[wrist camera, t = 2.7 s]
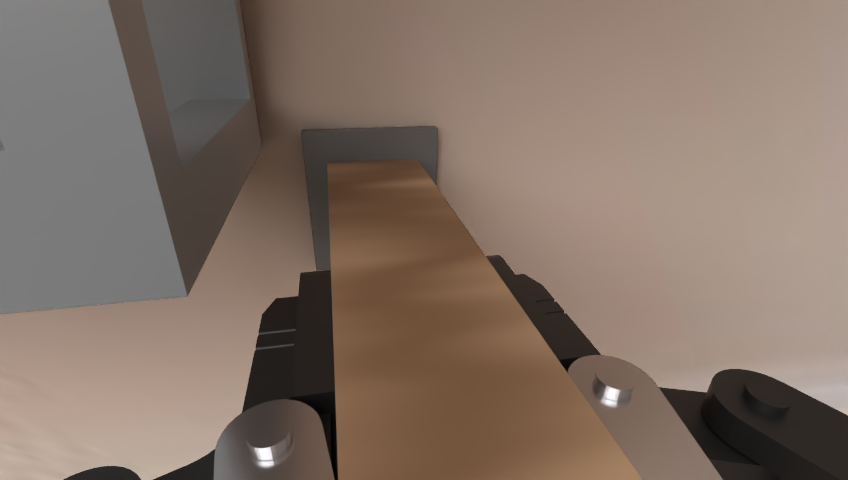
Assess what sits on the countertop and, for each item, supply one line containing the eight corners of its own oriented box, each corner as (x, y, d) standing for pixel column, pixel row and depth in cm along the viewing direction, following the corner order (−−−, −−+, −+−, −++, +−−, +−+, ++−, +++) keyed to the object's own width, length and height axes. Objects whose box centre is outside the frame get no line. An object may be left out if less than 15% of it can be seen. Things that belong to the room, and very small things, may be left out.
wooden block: (417, 158, 15) (869, 801, 3) (416, 237, 16) (712, 914, 4) (327, 162, 14) (356, 1015, 2) (333, 244, 16) (376, 1060, 3)
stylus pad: (434, 125, 15) (437, 128, 15) (431, 255, 17) (434, 260, 17) (302, 130, 14) (301, 132, 14) (316, 265, 16) (316, 270, 16)
